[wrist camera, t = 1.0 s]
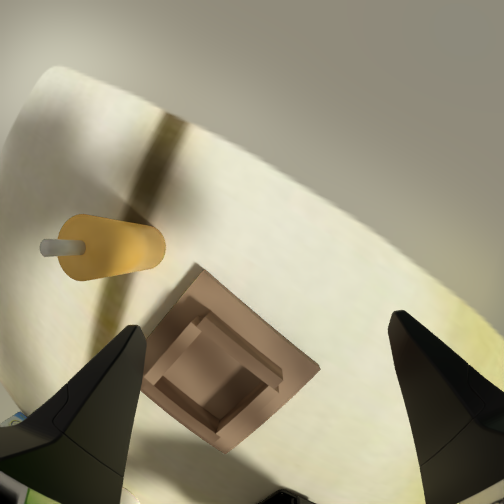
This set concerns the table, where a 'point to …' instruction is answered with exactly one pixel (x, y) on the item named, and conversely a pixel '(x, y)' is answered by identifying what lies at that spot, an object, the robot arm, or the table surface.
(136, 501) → the cylindrical container
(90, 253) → the yellow cylindrical piece
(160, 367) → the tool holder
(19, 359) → the table surface
